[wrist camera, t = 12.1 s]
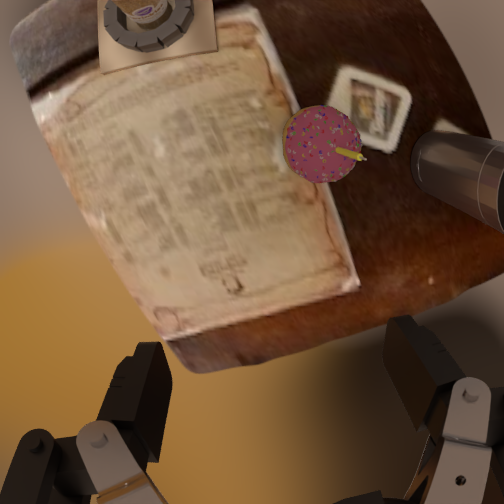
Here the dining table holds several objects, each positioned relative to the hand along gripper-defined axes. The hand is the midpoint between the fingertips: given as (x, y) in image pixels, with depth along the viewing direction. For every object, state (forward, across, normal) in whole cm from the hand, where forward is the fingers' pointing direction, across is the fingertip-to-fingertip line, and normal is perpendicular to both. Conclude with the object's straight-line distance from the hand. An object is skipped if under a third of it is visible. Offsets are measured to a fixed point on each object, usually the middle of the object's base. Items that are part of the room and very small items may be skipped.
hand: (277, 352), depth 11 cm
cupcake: (+30, -8, -4) cm, 31 cm away
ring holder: (+30, +9, -22) cm, 38 cm away
